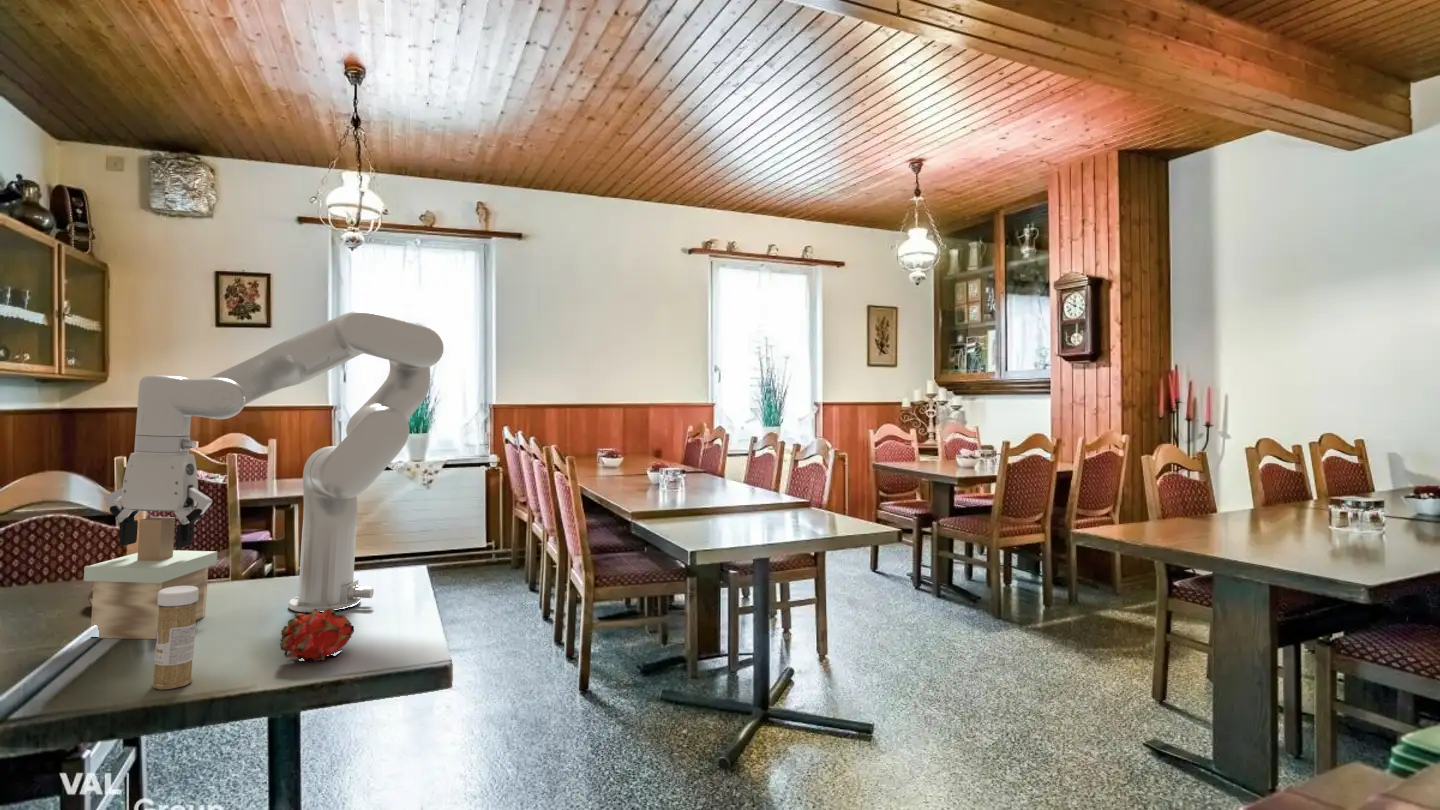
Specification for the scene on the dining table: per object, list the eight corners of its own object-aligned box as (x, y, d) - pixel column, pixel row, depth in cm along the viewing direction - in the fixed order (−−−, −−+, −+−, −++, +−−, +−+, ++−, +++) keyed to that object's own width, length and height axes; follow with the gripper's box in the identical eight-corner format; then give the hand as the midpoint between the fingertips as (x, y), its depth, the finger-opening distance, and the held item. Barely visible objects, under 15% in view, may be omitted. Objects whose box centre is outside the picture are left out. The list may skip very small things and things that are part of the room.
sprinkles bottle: (148, 684, 99) (154, 587, 99) (188, 676, 103) (193, 583, 103) (156, 693, 96) (162, 594, 96) (197, 685, 100) (203, 589, 100)
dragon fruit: (268, 679, 107) (344, 668, 117) (300, 654, 104) (375, 646, 114) (261, 625, 111) (335, 620, 121) (292, 600, 108) (365, 597, 118)
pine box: (205, 616, 130) (208, 556, 131) (155, 639, 117) (159, 572, 118) (147, 615, 130) (151, 555, 130) (90, 637, 116) (94, 570, 117)
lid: (216, 563, 132) (219, 513, 132) (160, 582, 117) (164, 526, 117) (148, 562, 131) (151, 511, 131) (83, 580, 116) (87, 523, 116)
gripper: (227, 447, 129) (221, 543, 128) (125, 442, 127) (118, 539, 127) (201, 449, 121) (194, 551, 121) (92, 444, 120) (85, 547, 119)
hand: (155, 544), depth 124 cm, fingers open, 8 cm apart
